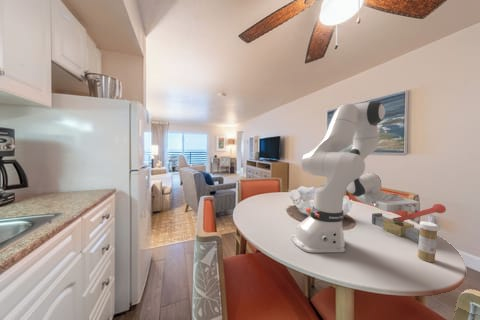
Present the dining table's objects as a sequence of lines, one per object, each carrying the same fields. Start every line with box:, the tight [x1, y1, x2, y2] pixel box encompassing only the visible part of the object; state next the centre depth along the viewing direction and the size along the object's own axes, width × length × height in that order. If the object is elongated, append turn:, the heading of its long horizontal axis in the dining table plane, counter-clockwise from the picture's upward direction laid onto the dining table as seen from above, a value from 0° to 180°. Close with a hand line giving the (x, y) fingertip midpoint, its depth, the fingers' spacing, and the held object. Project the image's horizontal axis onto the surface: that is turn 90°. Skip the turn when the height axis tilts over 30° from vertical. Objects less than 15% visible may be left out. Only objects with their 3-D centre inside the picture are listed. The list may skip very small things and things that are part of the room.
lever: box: [392, 203, 447, 222], centre depth 78 cm, size 4×4×21 cm
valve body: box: [371, 212, 420, 245], centre depth 86 cm, size 8×22×5 cm, turn 13°
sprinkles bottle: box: [417, 220, 439, 263], centre depth 65 cm, size 5×5×14 cm
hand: (416, 210), depth 79 cm, fingers closed
